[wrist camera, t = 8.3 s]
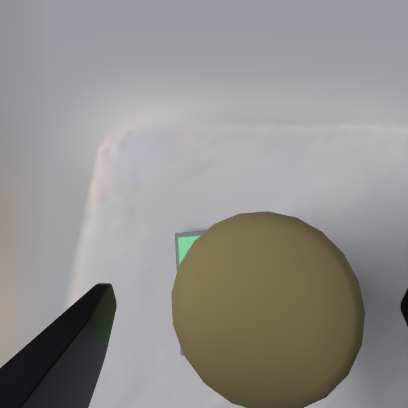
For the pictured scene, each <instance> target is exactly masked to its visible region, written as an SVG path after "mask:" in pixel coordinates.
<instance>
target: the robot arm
mask: <svg viewBox="0 0 408 408" xmlns="http://www.w3.org/2000/svg"><path fill="white" fill-rule="evenodd" d="M115 312H116V299H115V295H114V291H113V287H112V285H111V284H109V283H99V284H96V285H95V286H94V287H93V288H91V289H90V290H89V291H88V292H87V293H86V294H85V295H83V296H82V297H81V298H80V299H79V300H78V301H77V302H75V303H74V304H73V305H72V306H71V307H70V308H69V309H67V310H66V311H65V312H64V313H63V314H62V315H61V316H59V317H58V318H57V319H56V320H55V321H54V322H53V323H52V324H50V325H49V326H48V327H47V328H46V329H45V330H44V331H42V332H41V333H40V334H39V335H38V336H37V337H35V338H34V339H33V340H32V341H31V342H30V343H29V344H28V345H26V346H25V347H24V348H23V349H22V350H21V351H19V352H18V353H17V354H16V355H15V356H14V357H13V358H11V359H10V360H9V361H8V362H7V363H6V364H5V365H4V366H2V367H1V368H0V408H88V407H89V404H90V401H91V398H92V395H93V392H94V389H95V386H96V383H97V380H98V377H99V375H100V372H101V369H102V366H103V362H104V359H105V355H106V351H107V347H108V343H109V338H110V334H111V329H112V325H113V320H114V316H115ZM401 312H402V314H403V316H404V319H405V321H406V324H407V326H408V288H407V291H406V293H405V295H404V297H403V299H402V301H401Z"/></svg>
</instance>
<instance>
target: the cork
mask: <svg viewBox="0 0 408 408" xmlns="http://www.w3.org/2000/svg"><path fill="white" fill-rule="evenodd" d="M172 313H173V326H174V328H175V331H176V334H177V337H178V340H179V343H180V346H181V349H182V351H183V354H184V356H185V357H186V359H187V360H188V361H189V363H190V364H191V365H192V367H193V368H194V369H195V371H196V372H197V373H198V375H199V376H200V378H201V379H202V380H203V382H204V383H205V384H206V385H208V386H209V387H210V388H212V389H213V390H215V391H216V392H217V393H219V394H220V395H221V396H223V397H224V398H226V399H227V400H228V401H230V402H231V403H233V404H237V405H240V406H243V407H247V408H304V407H306V406H308V405H310V404H312V403H315V402H317V401H319V400H321V399H323V398H326V397H327V396H328V395H329V394H330V393H331V392H332V391H333V389H334V388H335V387H336V386H337V385H338V384H339V383H340V382H341V381H342V380H343V379H344V378H345V377H346V376H347V375H348V374H349V372H350V370H351V367H352V365H353V363H354V361H355V359H356V356H357V354H358V352H359V350H360V348H361V345H362V336H363V326H364V316H365V311H364V306H363V302H362V297H361V292H360V287H359V282H358V280H357V278H356V276H355V274H354V272H353V271H352V269H351V267H350V265H349V263H348V261H347V260H346V258H345V256H344V254H343V253H342V252H341V251H340V250H339V249H338V248H337V247H336V246H335V245H334V244H333V243H332V242H331V241H330V240H329V239H328V238H327V237H326V236H325V235H324V234H323V233H322V232H321V231H319V230H317V229H316V228H314V227H312V226H310V225H308V224H307V223H305V222H303V221H301V220H300V219H298V218H295V217H290V216H286V215H281V214H277V213H272V212H256V213H244V214H238V215H235V216H233V217H231V218H228V219H226V220H223V221H221V222H218V223H216V224H214V225H213V226H212V227H211V228H209V229H208V230H207V231H206V232H205V233H203V234H202V235H201V236H200V237H199V238H198V239H196V240H195V241H194V242H193V244H192V245H191V247H190V249H189V250H188V252H187V253H186V255H185V257H184V258H183V260H182V261H181V263H180V265H179V268H178V271H177V275H176V279H175V283H174V287H173V291H172Z"/></svg>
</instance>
